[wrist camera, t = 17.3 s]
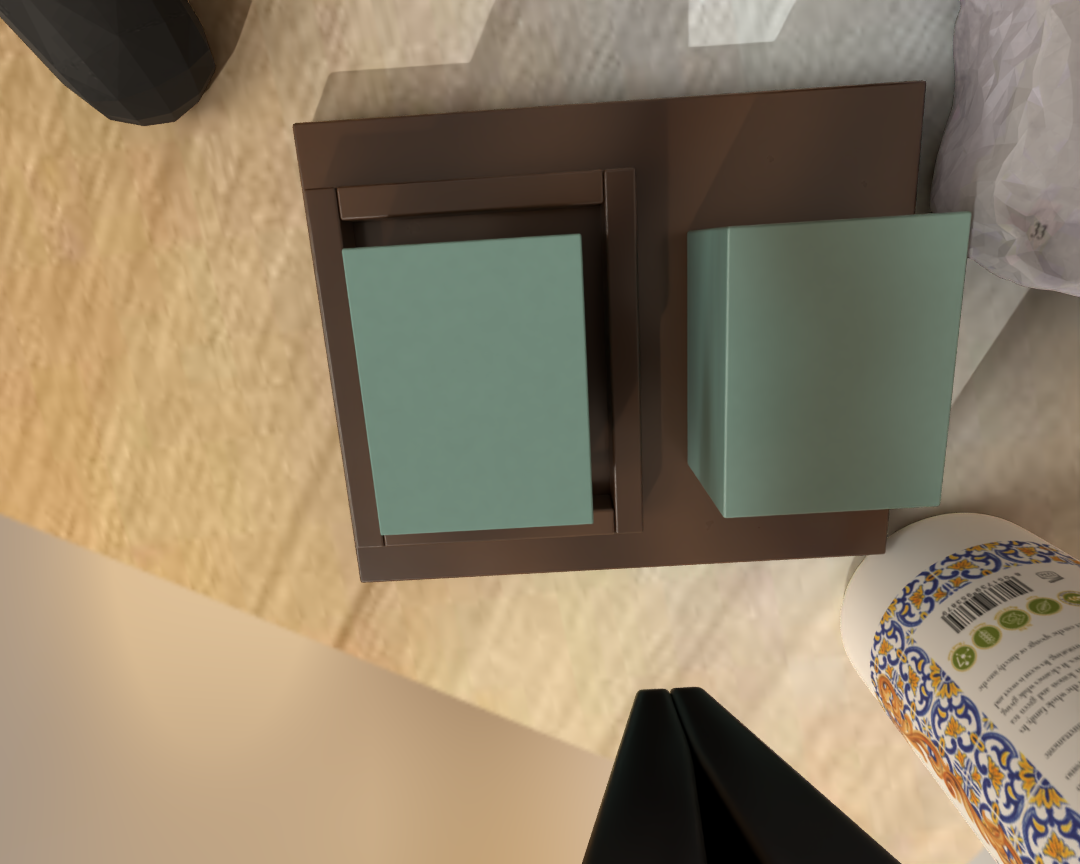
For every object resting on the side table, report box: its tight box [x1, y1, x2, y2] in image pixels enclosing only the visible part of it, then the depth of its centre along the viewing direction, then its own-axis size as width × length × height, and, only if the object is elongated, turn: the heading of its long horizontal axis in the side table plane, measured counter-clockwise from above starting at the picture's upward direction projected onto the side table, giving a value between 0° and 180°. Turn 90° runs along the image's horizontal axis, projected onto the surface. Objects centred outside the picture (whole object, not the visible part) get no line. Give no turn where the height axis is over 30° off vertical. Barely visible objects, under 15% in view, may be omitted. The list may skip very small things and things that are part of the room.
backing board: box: [293, 80, 972, 583], centre depth 17 cm, size 16×13×5 cm
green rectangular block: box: [342, 234, 594, 535], centre depth 16 cm, size 5×6×4 cm
